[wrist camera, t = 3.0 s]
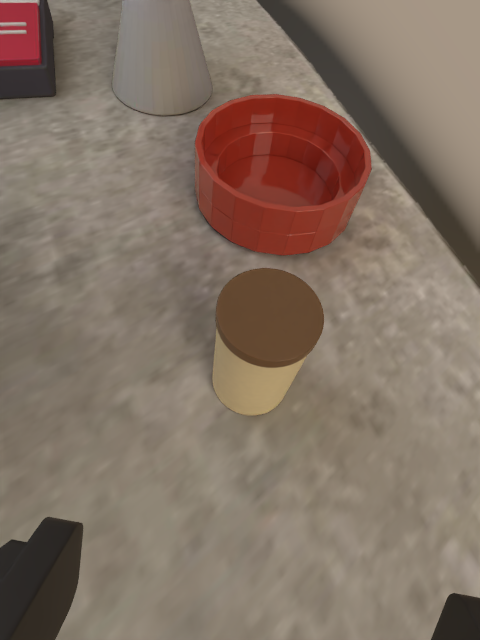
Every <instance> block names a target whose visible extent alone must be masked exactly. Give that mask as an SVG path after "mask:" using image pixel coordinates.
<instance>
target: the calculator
mask: <svg viewBox="0 0 480 640" xmlns="http://www.w3.org/2000/svg"><path fill="white" fill-rule="evenodd" d="M53 38H54V33H53V21H52V17H51V13H50V10H49V6H48V3H47V0H0V99H4V98H24V97H44V96H54V95H55V94H56V84H55V68H54V52H53Z"/></svg>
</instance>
